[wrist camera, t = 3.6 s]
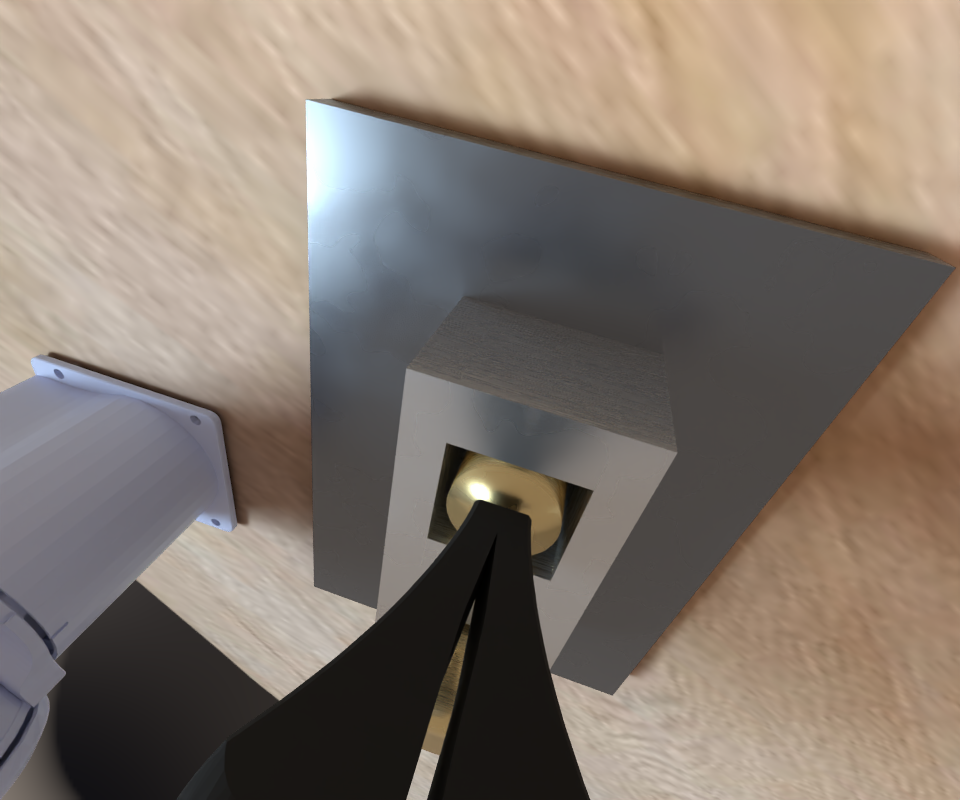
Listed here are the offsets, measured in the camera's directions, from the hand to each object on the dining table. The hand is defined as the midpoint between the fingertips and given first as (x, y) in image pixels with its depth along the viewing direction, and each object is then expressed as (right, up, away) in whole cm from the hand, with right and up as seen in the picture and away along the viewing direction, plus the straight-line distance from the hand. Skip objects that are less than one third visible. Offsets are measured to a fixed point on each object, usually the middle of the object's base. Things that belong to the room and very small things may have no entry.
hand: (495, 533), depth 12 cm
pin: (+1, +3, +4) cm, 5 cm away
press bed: (+1, +1, +7) cm, 7 cm away
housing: (+1, 0, +6) cm, 6 cm away
